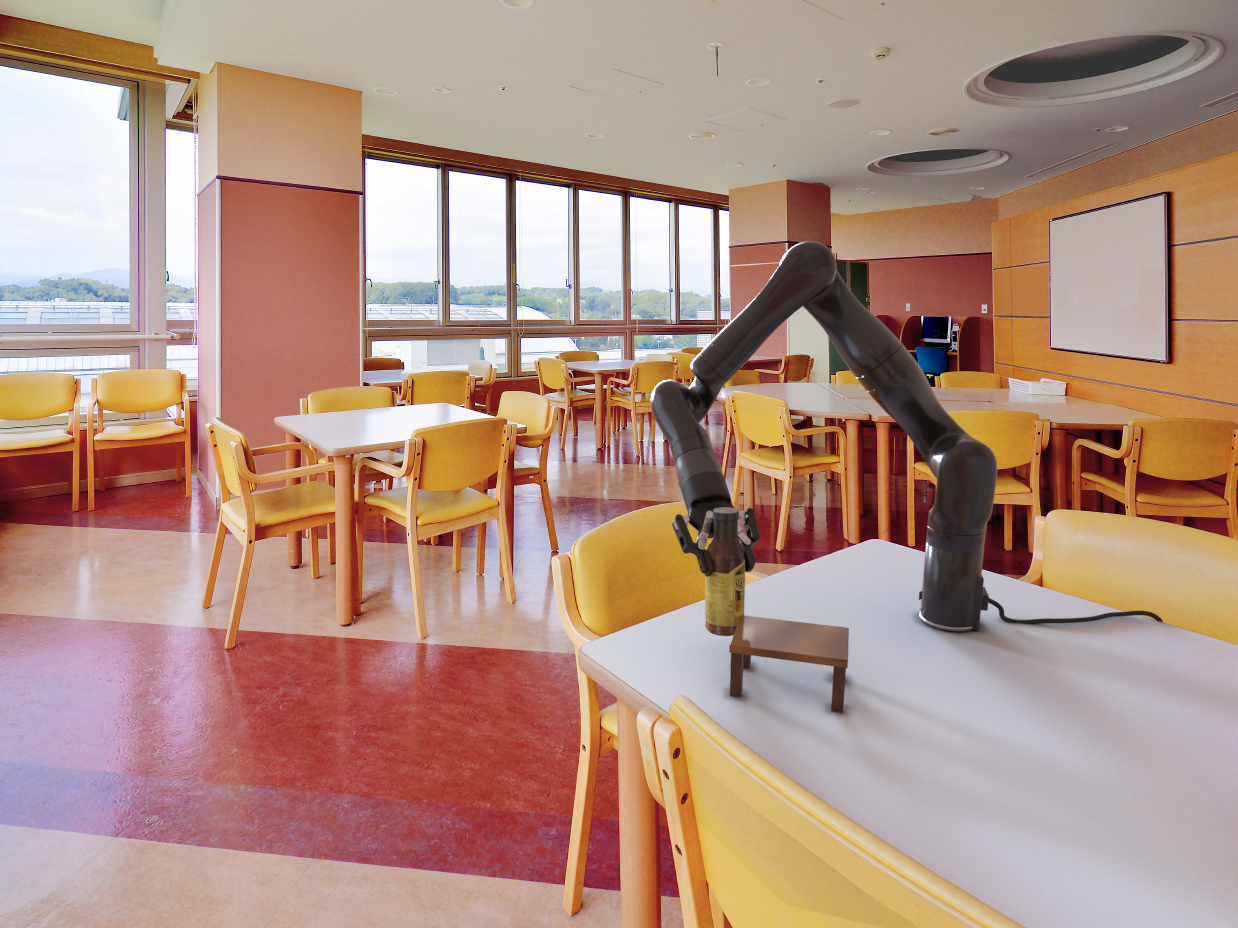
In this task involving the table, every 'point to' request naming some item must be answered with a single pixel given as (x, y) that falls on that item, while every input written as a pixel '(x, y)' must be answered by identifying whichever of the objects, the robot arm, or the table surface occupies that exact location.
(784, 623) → the small brown wooden table
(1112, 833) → the table surface
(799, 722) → the table surface
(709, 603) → the sauce bottle
